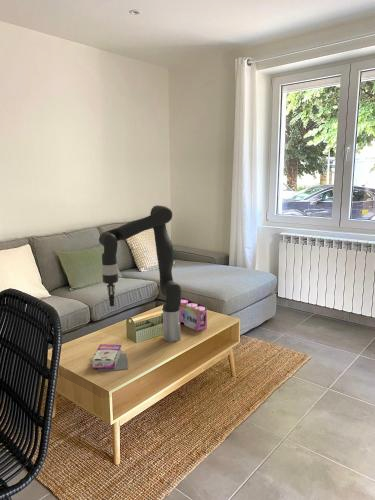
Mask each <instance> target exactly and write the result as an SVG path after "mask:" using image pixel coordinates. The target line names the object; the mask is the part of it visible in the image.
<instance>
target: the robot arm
mask: <svg viewBox="0 0 375 500" xmlns="http://www.w3.org/2000/svg"><path fill="white" fill-rule="evenodd" d="M149 213H150V214H149V215H148V216H145V217H143V218H139V219H136V220H132V221H130V222H126V223H125V224H122V225H120V226H119V227H116V228H111V229H108V230H106V231H104V232H102V233H101V234H100V235H99V238H98V243H99V244H100V245H102V246H103V253H102V254H101V262H102V264H101V273H102V275H101V276H102V283H104V284H107V285H106V291H107V295H108V300H109V306H110V307H114V306H115V294H116V291H115V290H116V285H115V283H117V282H118V281H119V273H118V271H119V269H118V263H117V252H118V245H119V244H118V242H119V241H125V240H128V239H129V238H132V237H134V236H136V235H138V234H140V233H142V232H145V231H147V230H149V229H153V234H154V241H155V249H156V258H157V265H158V272H159V291H160V294H161V295H163V296H164V297H165V303H164V304H162V332H163V335H162V336H163V337H162V338H163V341H165V342H170V343H172V342H178V341H181V323H180V322H179V307H180V304H181V298H182V288H181V285H180V284H178V283H176V281H175V282H174V279H173V271H172V270H173V269H172V268H173V266H174V261H175V252H174V245H173V242H172V240H171V238H170V236H169V234H168V231H167V224H168V223H169V222H170V221H172V218H173V211H172V210H171V208H169V207H168V206H166V205H154V206H152V208H151V209H150V212H149Z"/></svg>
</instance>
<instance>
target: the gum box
mask: <svg viewBox="0 0 375 500" xmlns="http://www.w3.org/2000/svg"><path fill="white" fill-rule="evenodd" d="M207 307H208V306H206V305H204V304H200V303H198V302H195V301H192V300H190V299H188V298H184V297H181V304H180V307H179V322H180V324H181V322H183V323H184V325H183V326H186V327H188V328H189V329H192V330H195V331H196V332H199V330H200V331H202V330H205V329H208V308H207Z"/></svg>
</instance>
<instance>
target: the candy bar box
mask: <svg viewBox="0 0 375 500" xmlns="http://www.w3.org/2000/svg"><path fill="white" fill-rule="evenodd" d="M121 354H122V344H99V346H98V348H97V350H96V352H95V353H94V355H93V357H92V359H91V369H98V368H110V369H115V367H116V364H117V362H118V360H119V357H120V355H121Z"/></svg>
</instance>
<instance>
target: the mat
mask: <svg viewBox="0 0 375 500" xmlns="http://www.w3.org/2000/svg"><path fill="white" fill-rule="evenodd" d="M123 370H125V371H126V370H129V366H128V357H127V352H126V353H125V352H123V353H121V355H120V357H119V360H118V362H117V364H116V367H115V369H110V368H97V372H98V373H105V372H113V371H123Z"/></svg>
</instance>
